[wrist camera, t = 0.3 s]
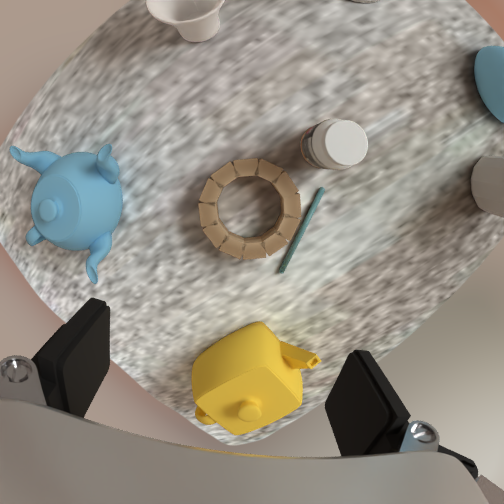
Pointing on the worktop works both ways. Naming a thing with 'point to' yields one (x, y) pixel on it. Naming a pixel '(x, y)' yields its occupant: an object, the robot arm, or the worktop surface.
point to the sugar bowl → (491, 79)
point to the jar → (489, 184)
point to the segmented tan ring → (268, 240)
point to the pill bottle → (334, 144)
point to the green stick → (302, 230)
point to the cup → (188, 16)
